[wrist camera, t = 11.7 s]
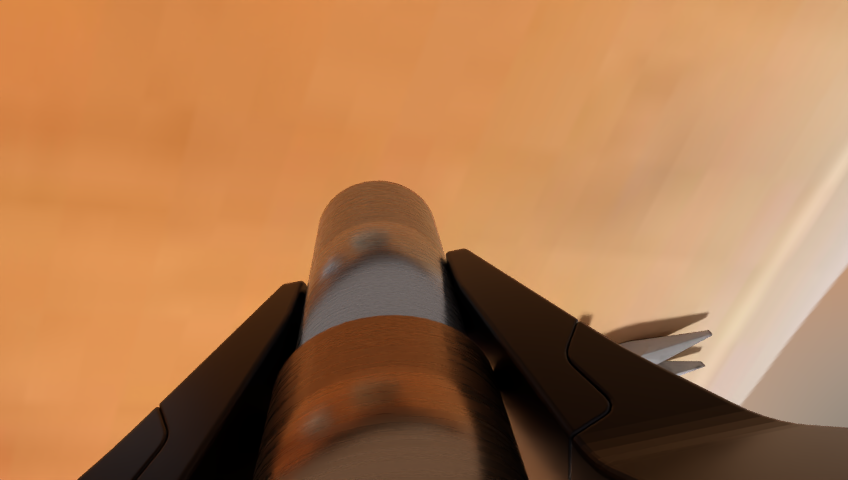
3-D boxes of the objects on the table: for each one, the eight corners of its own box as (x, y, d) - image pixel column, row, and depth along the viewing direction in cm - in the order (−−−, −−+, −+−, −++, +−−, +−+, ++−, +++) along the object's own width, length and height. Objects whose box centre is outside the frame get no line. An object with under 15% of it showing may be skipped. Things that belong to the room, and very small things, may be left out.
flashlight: (452, 276, 12) (577, 700, 5) (329, 300, 12) (278, 764, 5) (433, 160, 10) (581, 545, 3) (291, 187, 10) (131, 640, 3)
